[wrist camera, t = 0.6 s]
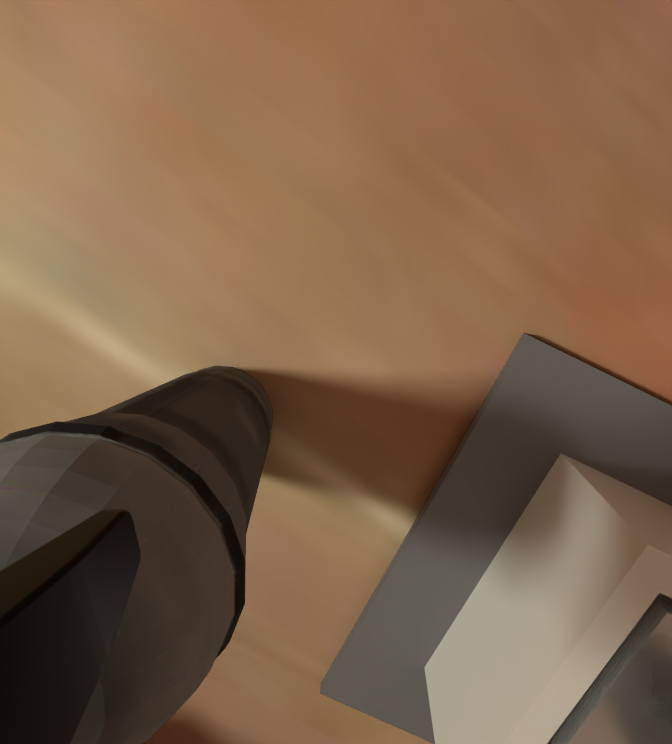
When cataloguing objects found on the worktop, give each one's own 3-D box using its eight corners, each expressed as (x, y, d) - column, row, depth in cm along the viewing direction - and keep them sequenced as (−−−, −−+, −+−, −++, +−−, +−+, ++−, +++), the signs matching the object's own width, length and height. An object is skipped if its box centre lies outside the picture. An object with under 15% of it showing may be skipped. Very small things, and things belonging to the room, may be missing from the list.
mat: (663, 834, 27) (669, 847, 27) (321, 683, 26) (320, 693, 26) (927, 531, 23) (942, 538, 22) (523, 332, 22) (528, 335, 21)
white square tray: (647, 767, 26) (749, 955, 19) (424, 667, 25) (446, 824, 18) (838, 535, 22) (1047, 662, 15) (586, 412, 22) (687, 489, 15)
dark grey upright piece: (319, 354, 22) (4, 1086, 3) (287, 504, 24) (-41, 1587, 5) (153, 318, 22) (-1271, 797, 3) (134, 470, 24) (-832, 1406, 5)
